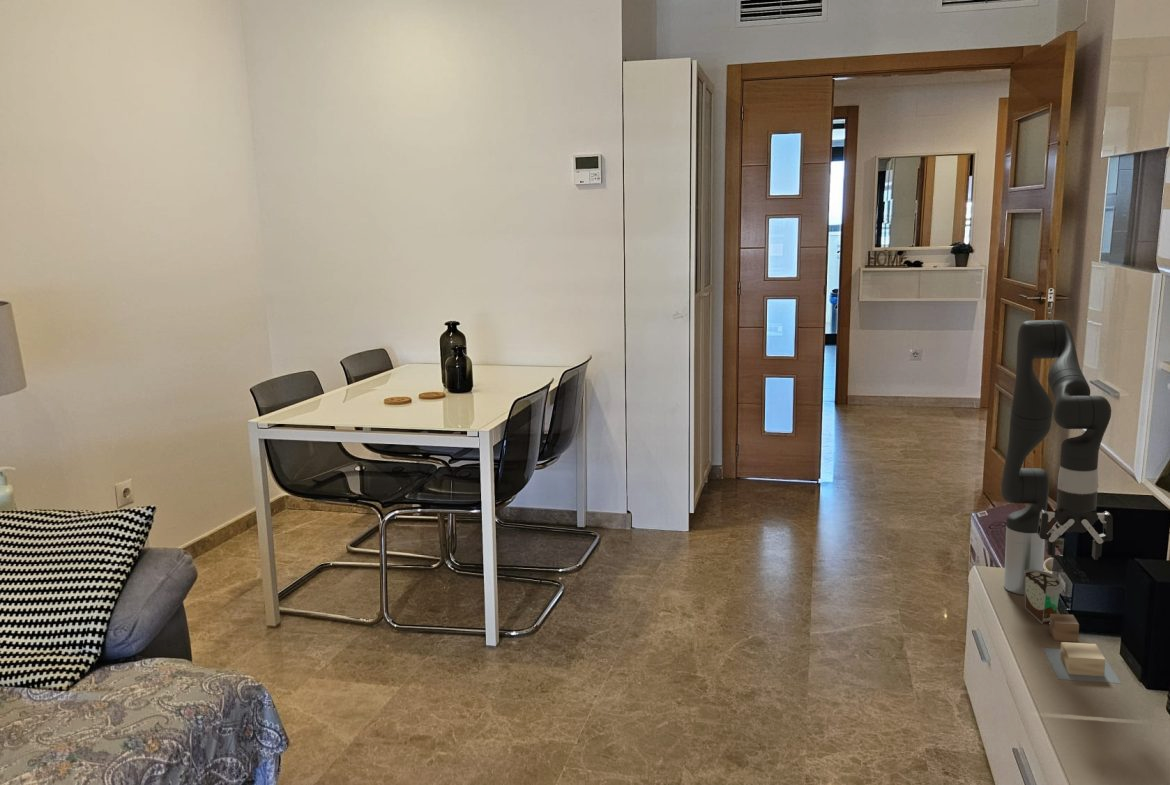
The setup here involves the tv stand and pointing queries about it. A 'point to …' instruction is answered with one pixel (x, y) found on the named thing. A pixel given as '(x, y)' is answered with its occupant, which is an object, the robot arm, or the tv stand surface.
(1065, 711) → the tv stand surface
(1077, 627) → the walnut cube
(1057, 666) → the build board
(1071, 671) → the oak base block
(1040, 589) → the food container
